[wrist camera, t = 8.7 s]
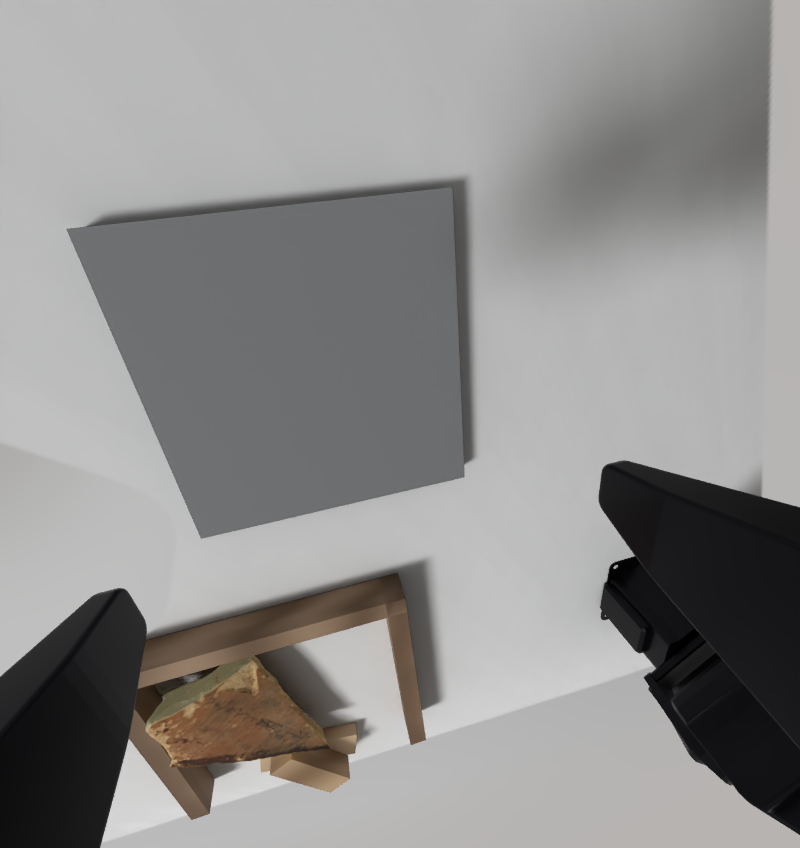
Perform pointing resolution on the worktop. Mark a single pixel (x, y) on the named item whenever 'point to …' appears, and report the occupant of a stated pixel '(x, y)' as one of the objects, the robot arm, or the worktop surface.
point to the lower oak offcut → (331, 741)
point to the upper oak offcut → (313, 768)
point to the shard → (232, 718)
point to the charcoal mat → (290, 349)
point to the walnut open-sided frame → (260, 636)
